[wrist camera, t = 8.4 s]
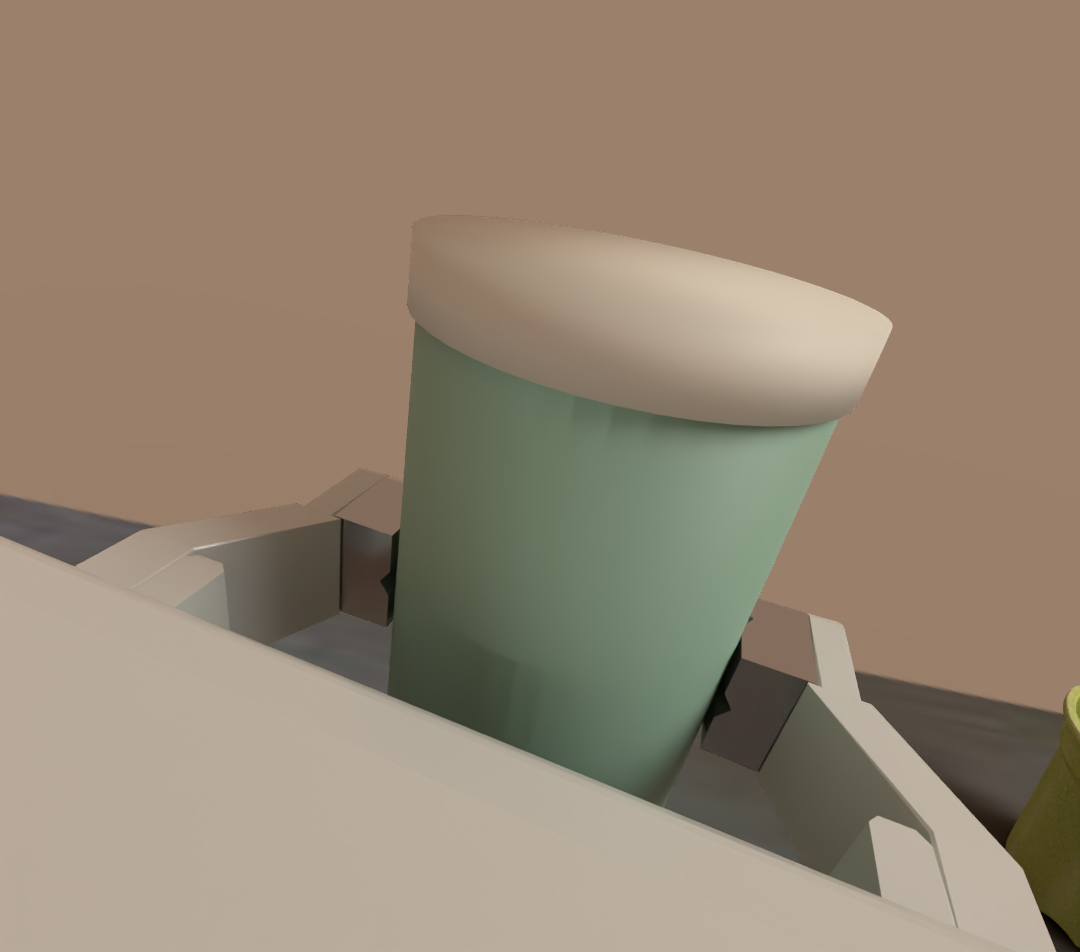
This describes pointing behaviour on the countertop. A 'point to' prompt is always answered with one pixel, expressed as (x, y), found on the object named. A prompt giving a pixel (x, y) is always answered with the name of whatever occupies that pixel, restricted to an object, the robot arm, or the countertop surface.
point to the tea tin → (601, 480)
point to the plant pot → (1055, 829)
